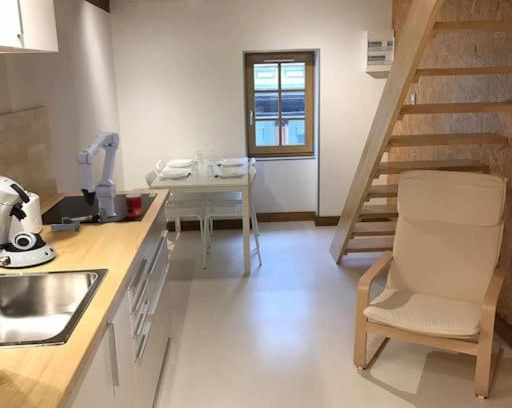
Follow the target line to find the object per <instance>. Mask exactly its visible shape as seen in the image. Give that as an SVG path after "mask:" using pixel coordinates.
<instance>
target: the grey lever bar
mask: <svg viewBox="0 0 512 408" xmlns="http://www.w3.org/2000/svg"><path fill="white" fill-rule="evenodd" d="M50 229H51V231H52V232H54V231H74V230H80V229H81V223H80V222H74V223H70V224H63V223H61V224H60V223H59V224H57V223H56V224H55V223H54V224H50Z"/></svg>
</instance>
